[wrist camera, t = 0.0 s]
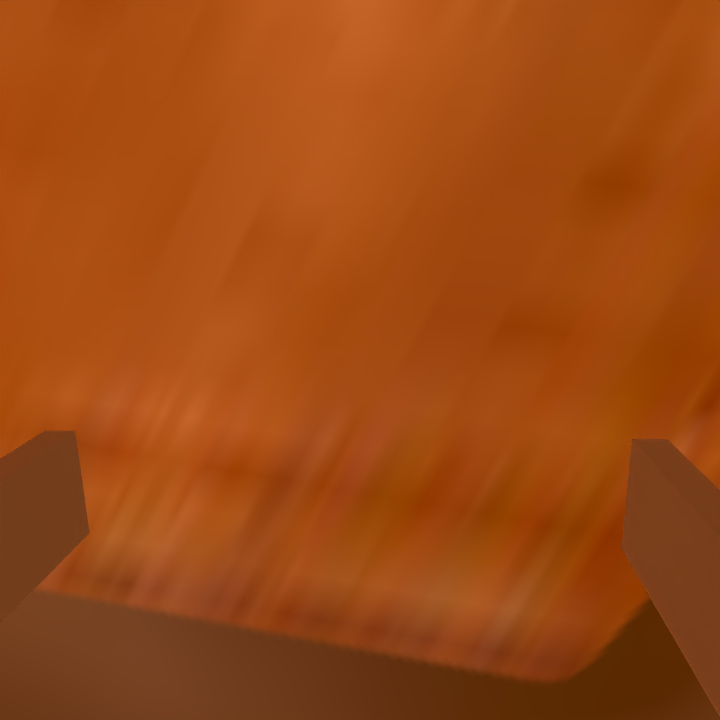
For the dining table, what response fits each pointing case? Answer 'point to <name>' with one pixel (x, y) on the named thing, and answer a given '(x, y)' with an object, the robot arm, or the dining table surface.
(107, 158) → the dining table surface
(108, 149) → the dining table surface
